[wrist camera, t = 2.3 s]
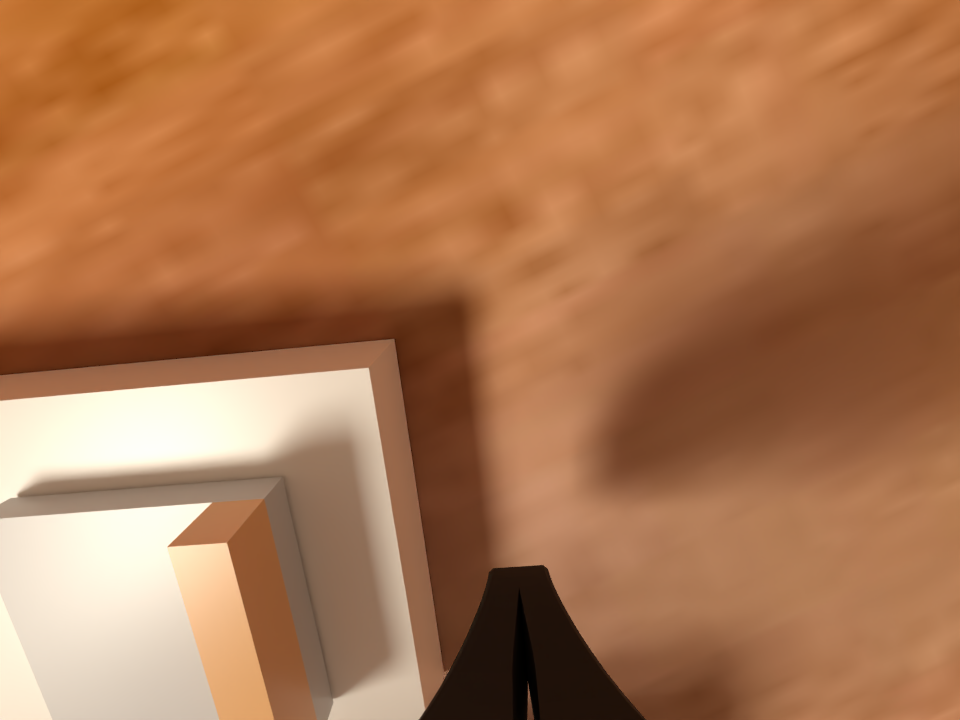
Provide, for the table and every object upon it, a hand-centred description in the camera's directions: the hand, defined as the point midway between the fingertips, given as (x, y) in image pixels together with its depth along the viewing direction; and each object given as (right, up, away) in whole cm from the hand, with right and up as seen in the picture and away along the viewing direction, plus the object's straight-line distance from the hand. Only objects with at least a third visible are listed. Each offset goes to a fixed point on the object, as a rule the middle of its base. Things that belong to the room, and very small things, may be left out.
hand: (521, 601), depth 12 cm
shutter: (-9, -1, +1) cm, 9 cm away
